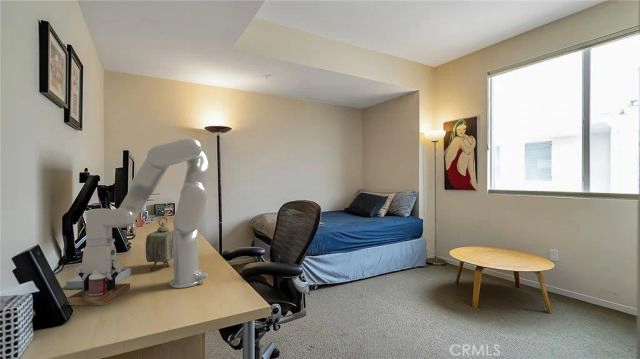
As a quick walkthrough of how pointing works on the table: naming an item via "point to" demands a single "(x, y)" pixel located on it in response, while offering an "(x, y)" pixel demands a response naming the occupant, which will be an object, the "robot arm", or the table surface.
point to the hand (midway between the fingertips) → (99, 289)
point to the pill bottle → (98, 285)
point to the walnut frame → (82, 300)
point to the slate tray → (79, 283)
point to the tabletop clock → (160, 245)
